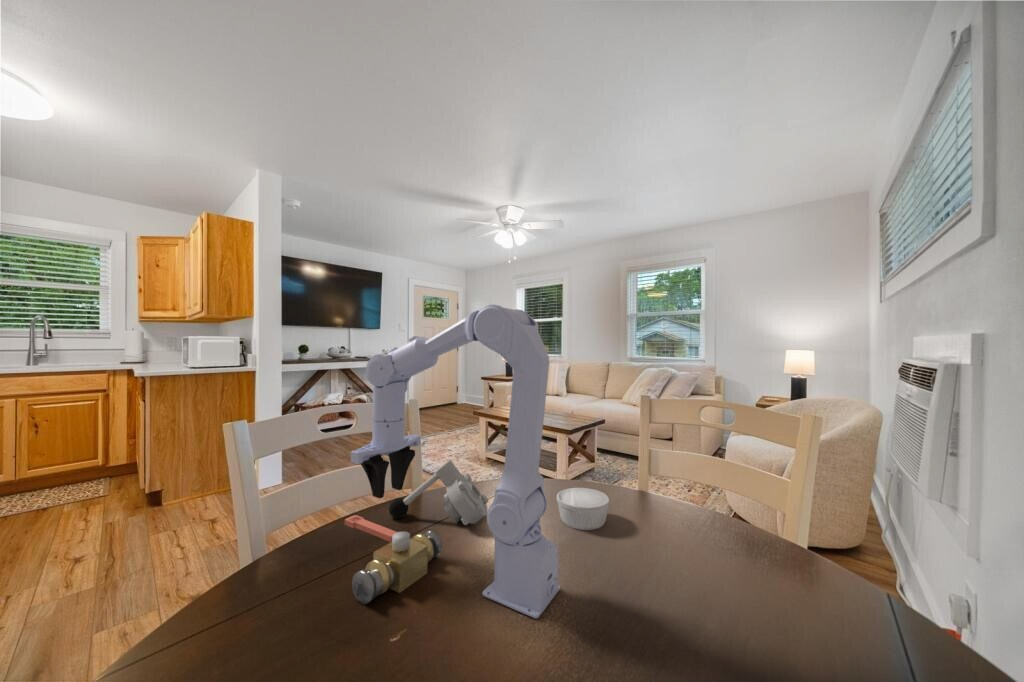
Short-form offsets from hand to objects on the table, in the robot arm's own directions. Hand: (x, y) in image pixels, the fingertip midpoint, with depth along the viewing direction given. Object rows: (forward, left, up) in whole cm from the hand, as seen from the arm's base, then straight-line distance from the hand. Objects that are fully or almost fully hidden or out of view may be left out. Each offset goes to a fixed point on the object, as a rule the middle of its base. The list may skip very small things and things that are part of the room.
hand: (387, 492), depth 70 cm
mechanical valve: (0, -14, -11) cm, 18 cm away
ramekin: (-27, -30, -11) cm, 42 cm away
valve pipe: (-9, +4, -10) cm, 14 cm away
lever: (-3, +5, -6) cm, 8 cm away
